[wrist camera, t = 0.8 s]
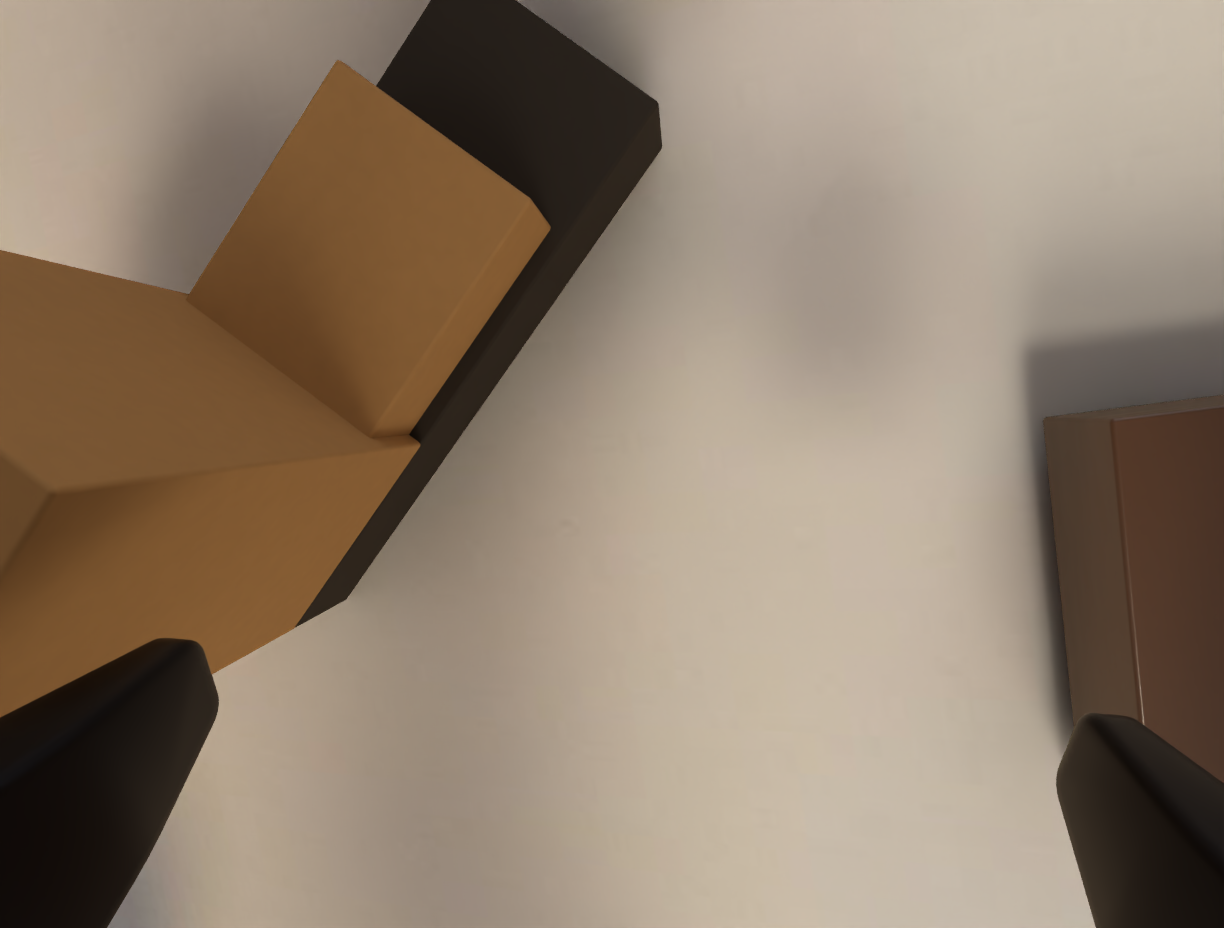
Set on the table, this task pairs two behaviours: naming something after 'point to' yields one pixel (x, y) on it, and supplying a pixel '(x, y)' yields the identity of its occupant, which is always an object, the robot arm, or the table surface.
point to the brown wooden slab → (1144, 566)
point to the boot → (298, 350)
